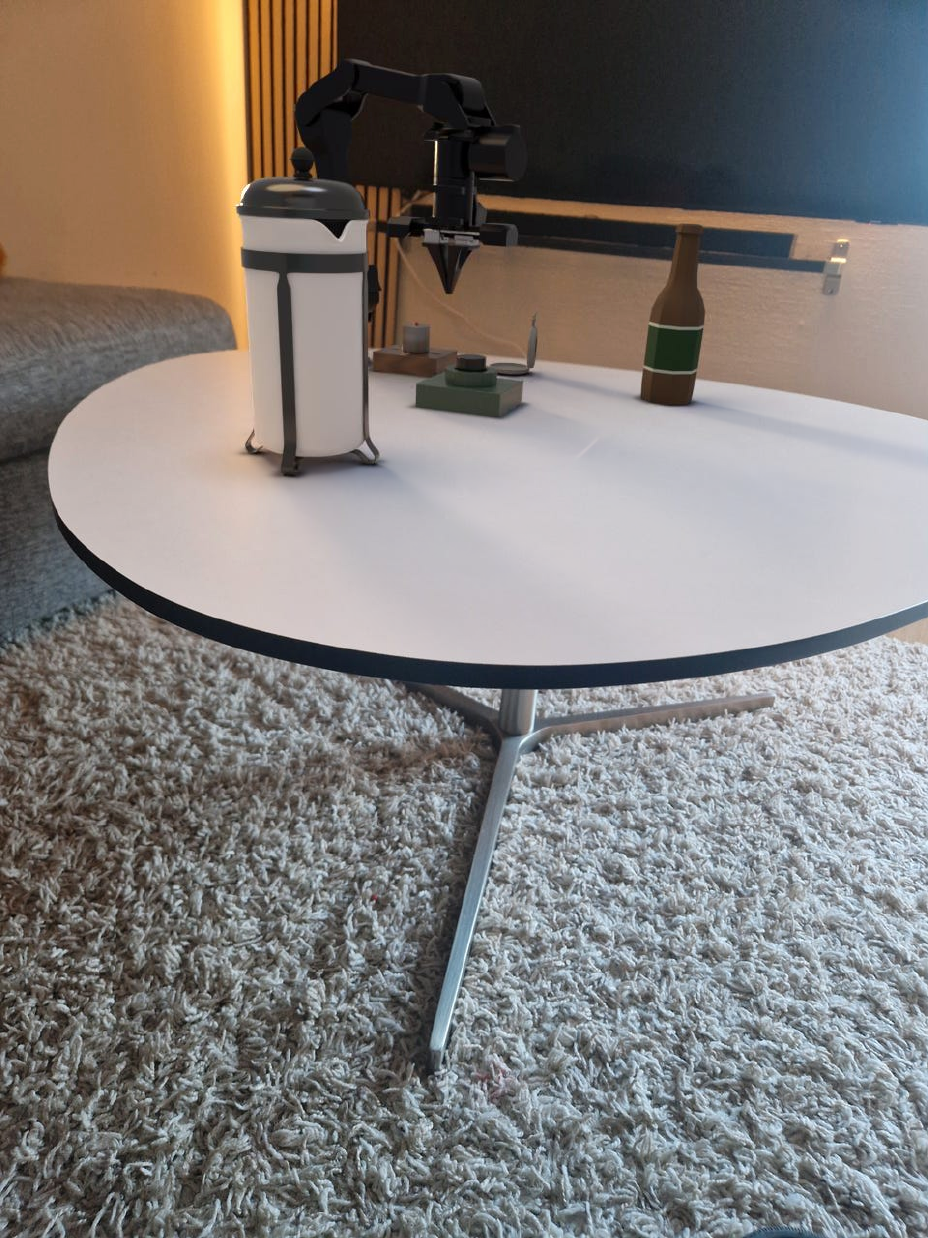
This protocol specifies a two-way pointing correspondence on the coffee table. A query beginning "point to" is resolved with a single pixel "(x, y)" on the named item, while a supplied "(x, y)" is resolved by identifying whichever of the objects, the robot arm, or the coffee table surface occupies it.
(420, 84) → the robot arm
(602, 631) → the coffee table surface
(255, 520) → the coffee table surface
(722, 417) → the coffee table surface
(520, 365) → the pocket watch
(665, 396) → the beer bottle
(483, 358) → the push button
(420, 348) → the dial
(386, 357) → the dial panel
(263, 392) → the coffee press
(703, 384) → the coffee table surface
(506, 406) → the button base
